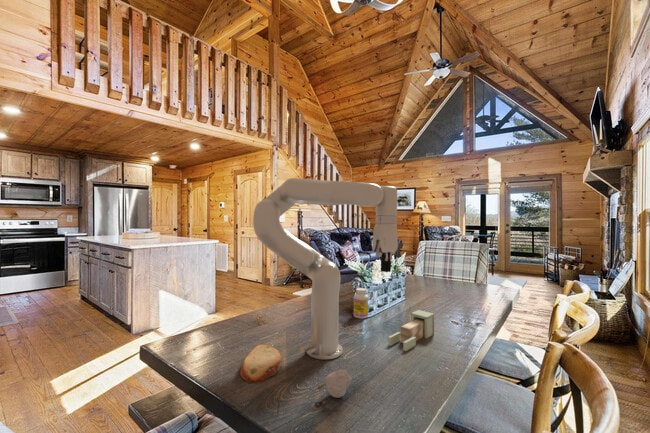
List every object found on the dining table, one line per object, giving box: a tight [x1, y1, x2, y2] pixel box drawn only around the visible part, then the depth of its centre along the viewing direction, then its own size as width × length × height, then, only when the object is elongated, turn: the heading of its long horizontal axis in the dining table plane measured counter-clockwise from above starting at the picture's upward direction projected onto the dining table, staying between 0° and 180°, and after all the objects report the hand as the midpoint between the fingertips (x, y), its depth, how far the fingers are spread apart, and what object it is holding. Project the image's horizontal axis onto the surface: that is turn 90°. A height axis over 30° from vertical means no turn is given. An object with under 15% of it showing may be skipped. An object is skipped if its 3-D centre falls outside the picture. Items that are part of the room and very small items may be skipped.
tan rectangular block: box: [400, 318, 425, 343], centre depth 120 cm, size 14×4×6 cm, turn 135°
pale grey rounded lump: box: [325, 369, 352, 399], centre depth 81 cm, size 6×7×7 cm
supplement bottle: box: [353, 287, 369, 320], centre depth 144 cm, size 7×7×13 cm
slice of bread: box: [239, 344, 283, 384], centre depth 98 cm, size 18×18×4 cm
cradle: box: [387, 331, 417, 352], centre depth 113 cm, size 7×7×3 cm
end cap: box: [410, 309, 435, 339], centre depth 124 cm, size 6×7×8 cm
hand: (385, 271), depth 112 cm, fingers closed
